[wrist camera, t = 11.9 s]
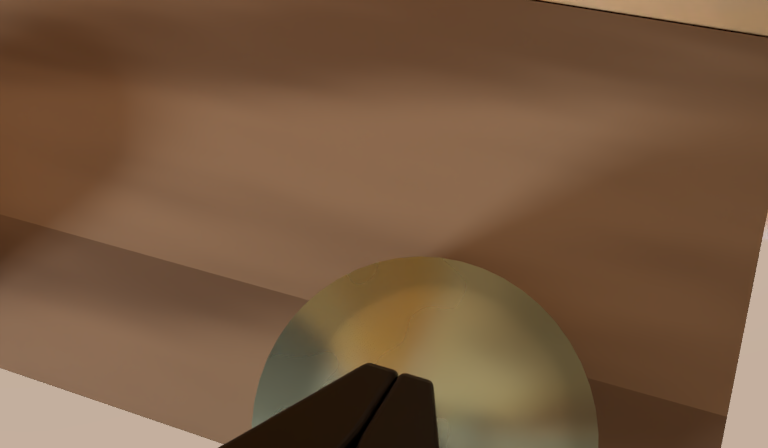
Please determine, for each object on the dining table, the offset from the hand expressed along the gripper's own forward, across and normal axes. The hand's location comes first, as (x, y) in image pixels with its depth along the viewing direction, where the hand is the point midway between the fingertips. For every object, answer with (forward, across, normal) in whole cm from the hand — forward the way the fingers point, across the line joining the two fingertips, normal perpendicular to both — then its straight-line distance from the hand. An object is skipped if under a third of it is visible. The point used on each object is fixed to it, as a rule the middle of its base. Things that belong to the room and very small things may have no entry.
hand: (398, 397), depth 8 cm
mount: (+10, -6, +1) cm, 12 cm away
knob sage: (+5, 0, -3) cm, 6 cm away
